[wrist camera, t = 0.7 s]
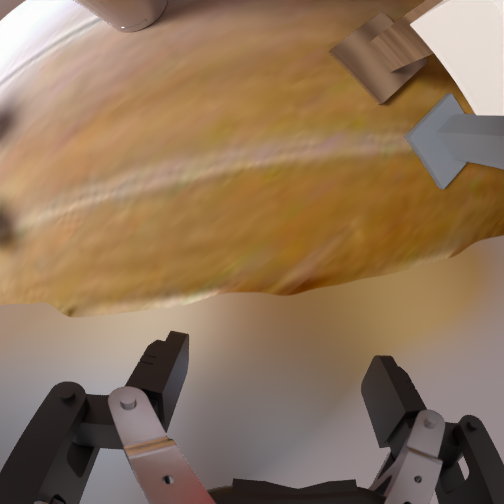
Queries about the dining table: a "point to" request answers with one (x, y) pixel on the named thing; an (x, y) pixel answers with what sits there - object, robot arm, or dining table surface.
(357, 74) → the wooden pedestal stand
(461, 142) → the grey pedestal stand
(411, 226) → the dining table surface
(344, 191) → the dining table surface
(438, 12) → the white rectangular bar
